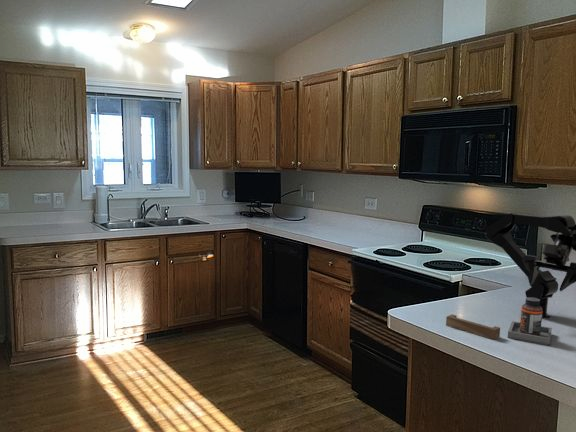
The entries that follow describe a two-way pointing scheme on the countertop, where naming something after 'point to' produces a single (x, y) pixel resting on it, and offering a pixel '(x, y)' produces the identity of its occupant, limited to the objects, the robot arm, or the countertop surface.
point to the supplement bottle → (531, 317)
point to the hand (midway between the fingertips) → (545, 287)
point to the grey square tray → (541, 339)
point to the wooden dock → (473, 327)
